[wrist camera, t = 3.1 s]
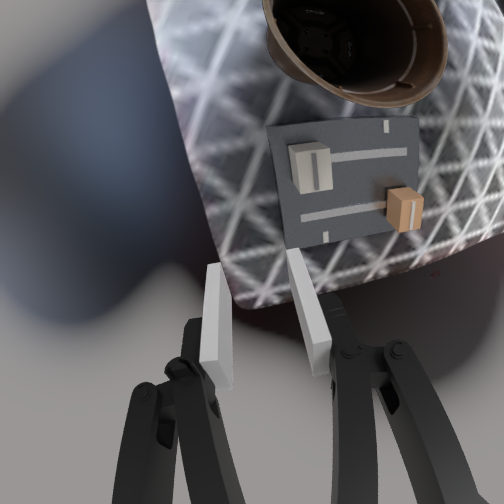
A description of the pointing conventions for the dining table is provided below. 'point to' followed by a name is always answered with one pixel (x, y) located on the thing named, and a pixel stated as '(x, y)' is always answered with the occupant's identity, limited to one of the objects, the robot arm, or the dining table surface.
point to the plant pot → (361, 47)
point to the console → (345, 176)
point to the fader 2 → (404, 209)
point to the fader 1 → (311, 167)
